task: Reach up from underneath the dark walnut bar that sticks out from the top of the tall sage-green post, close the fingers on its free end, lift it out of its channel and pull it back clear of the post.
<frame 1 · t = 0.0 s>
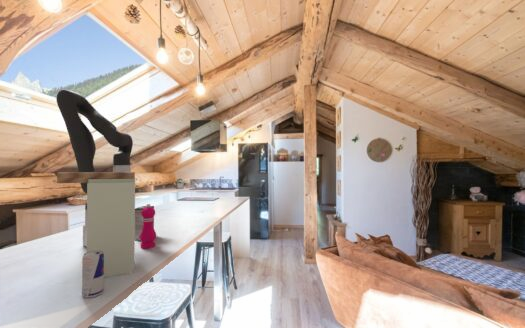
hand: (122, 209, 123), 17 cm above the breakfast bar, tool pointing down, fingers open, 8 cm apart
post: (112, 270, 94), on the breakfast bar
pepper mill: (148, 247, 122), on the breakfast bar
energy drink: (93, 294, 77), on the breakfast bar
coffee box: (144, 238, 136), on the breakfast bar
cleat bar: (98, 182, 92), point 32 cm above the breakfast bar, touching post
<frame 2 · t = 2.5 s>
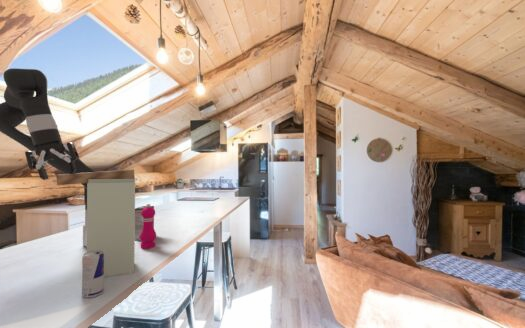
hand: (59, 176, 89), 34 cm above the breakfast bar, tool tilted 15°, fingers open, 8 cm apart
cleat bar: (98, 181, 92), point 32 cm above the breakfast bar, touching gripper, post
everything else where it was.
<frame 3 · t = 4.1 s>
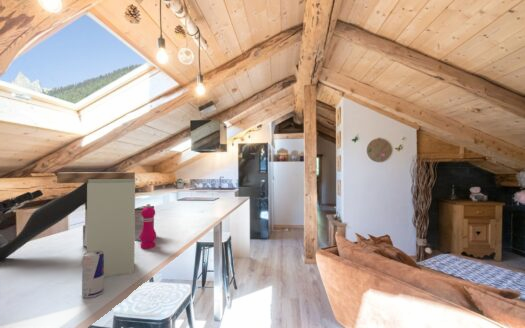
hand: (36, 193, 85), 29 cm above the breakfast bar, tool pointing upward, fingers open, 8 cm apart
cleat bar: (98, 182, 92), point 32 cm above the breakfast bar, touching post
everything else where it was.
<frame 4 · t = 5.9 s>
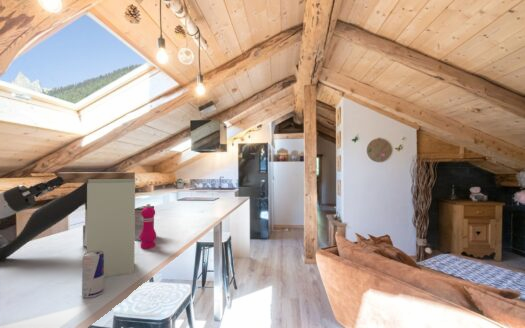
hand: (66, 178, 88), 34 cm above the breakfast bar, tool pointing upward, fingers open, 8 cm apart
nothing on the breakfast bar moved.
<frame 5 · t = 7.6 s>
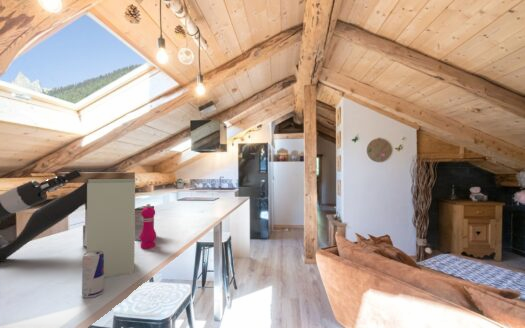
hand: (80, 172, 90), 36 cm above the breakfast bar, tool pointing upward, fingers closed on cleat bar, 3 cm apart
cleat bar: (98, 182, 92), point 32 cm above the breakfast bar, touching gripper, post
everything else where it was.
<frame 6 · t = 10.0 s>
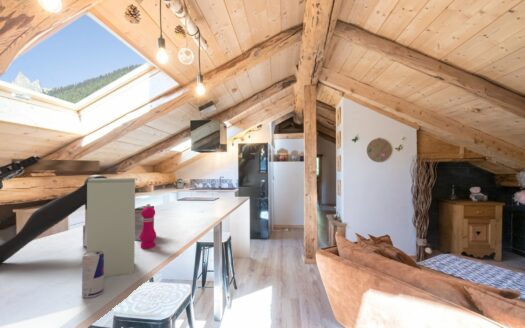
hand: (38, 158, 85), 40 cm above the breakfast bar, tool pointing upward, fingers closed on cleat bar, 3 cm apart
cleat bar: (58, 170, 87), point 36 cm above the breakfast bar, touching gripper
everything else where it was.
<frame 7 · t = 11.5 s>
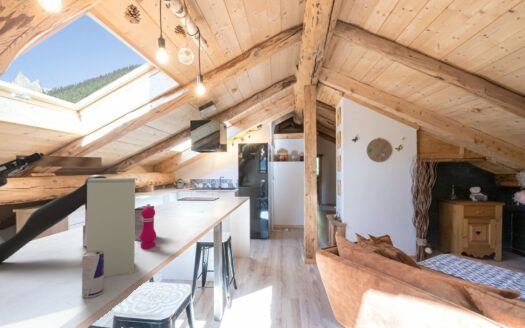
hand: (41, 155, 87), 41 cm above the breakfast bar, tool pointing upward, fingers closed on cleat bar, 3 cm apart
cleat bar: (61, 166, 89), point 38 cm above the breakfast bar, touching gripper
everything else where it was.
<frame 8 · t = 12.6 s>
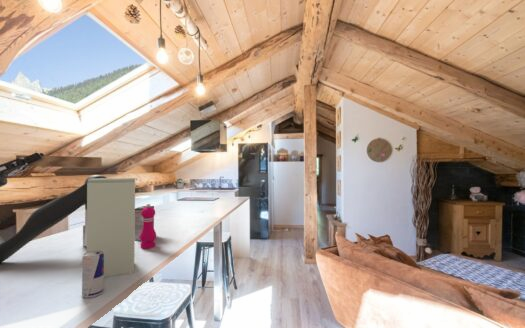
hand: (41, 155, 87), 41 cm above the breakfast bar, tool pointing upward, fingers closed on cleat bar, 3 cm apart
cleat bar: (61, 166, 89), point 38 cm above the breakfast bar, touching gripper
everything else where it was.
at the end: the gripper is holding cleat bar; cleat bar moved 12.4 cm from its start; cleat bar touching gripper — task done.
